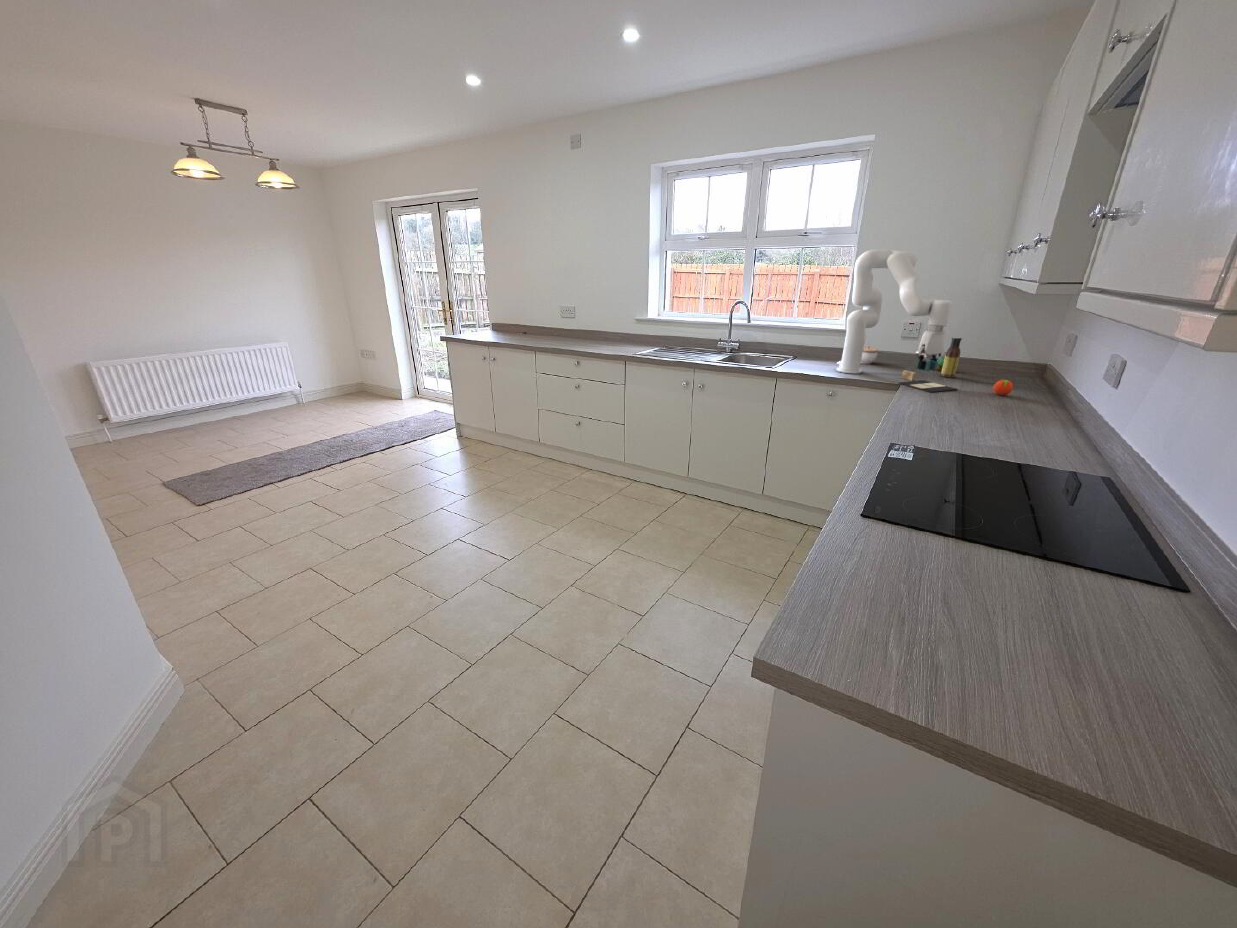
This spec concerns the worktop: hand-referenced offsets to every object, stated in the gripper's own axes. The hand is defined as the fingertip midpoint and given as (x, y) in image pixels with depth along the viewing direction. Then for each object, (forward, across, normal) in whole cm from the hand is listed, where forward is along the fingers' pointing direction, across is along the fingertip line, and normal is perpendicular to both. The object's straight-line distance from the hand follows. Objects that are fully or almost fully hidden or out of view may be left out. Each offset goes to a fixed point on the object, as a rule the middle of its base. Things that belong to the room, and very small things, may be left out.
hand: (926, 368), depth 225 cm
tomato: (+10, -22, +22) cm, 32 cm away
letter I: (+9, -7, -14) cm, 18 cm away
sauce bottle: (+9, -32, -13) cm, 36 cm away
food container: (+9, -41, -26) cm, 49 cm away
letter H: (+1, 0, 0) cm, 1 cm away
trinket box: (+9, -18, -54) cm, 58 cm away
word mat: (+9, -4, 0) cm, 10 cm away
